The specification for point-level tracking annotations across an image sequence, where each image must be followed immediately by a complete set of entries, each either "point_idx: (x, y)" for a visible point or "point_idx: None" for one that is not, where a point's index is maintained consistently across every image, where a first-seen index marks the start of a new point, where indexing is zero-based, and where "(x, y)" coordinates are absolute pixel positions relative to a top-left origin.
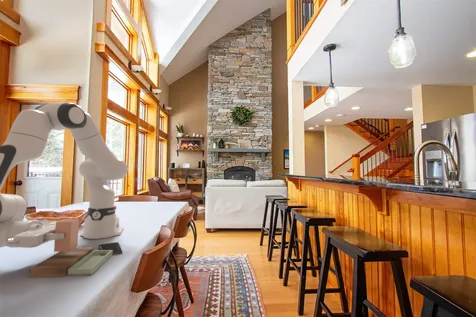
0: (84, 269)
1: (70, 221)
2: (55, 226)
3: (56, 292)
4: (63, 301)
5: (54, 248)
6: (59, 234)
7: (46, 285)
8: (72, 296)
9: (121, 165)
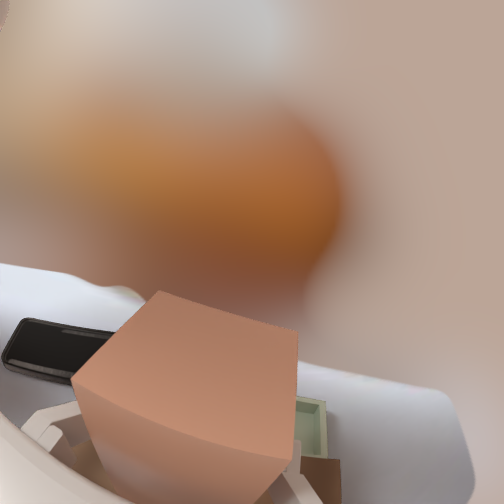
0: (325, 419)
1: (272, 338)
2: (43, 498)
3: (411, 452)
4: (434, 422)
5: None
6: (297, 464)
7: (381, 496)
8: (418, 416)
9: (8, 4)
